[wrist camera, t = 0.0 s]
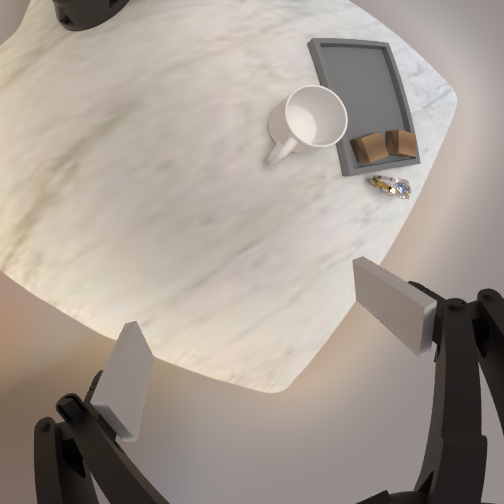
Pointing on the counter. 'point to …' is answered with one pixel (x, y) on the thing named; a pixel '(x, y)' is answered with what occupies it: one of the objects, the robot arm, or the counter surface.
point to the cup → (306, 122)
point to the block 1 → (369, 148)
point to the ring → (400, 189)
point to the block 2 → (400, 143)
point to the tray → (364, 95)
